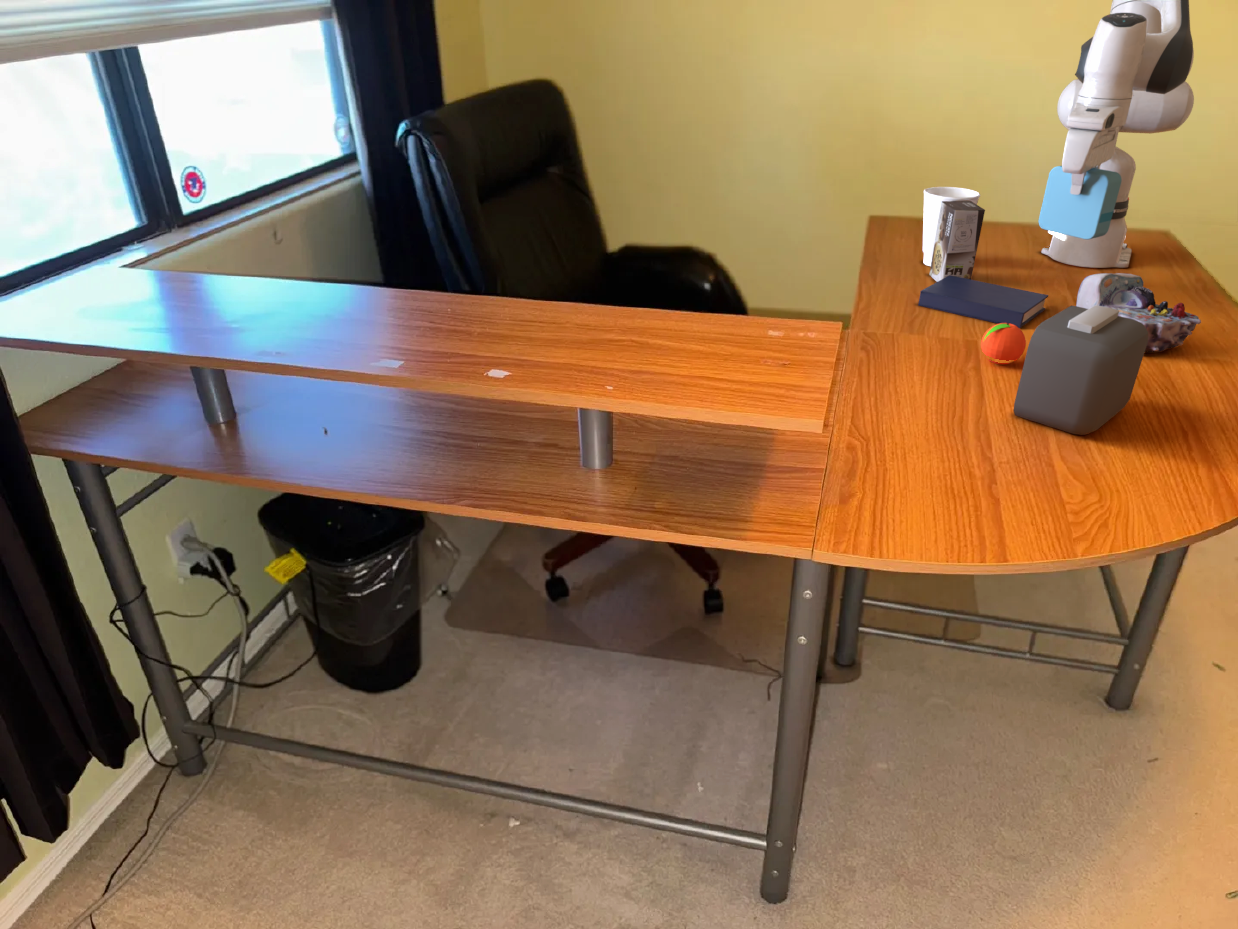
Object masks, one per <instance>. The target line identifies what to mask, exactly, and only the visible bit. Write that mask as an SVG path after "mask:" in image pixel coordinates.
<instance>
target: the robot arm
mask: <svg viewBox="0 0 1238 929" xmlns="http://www.w3.org/2000/svg"><path fill="white" fill-rule="evenodd" d="M1190 14H1191V13H1190V0H1112V1H1111V6H1110V11H1109V13H1108V14H1107V15H1104V16H1102V17H1101V18H1100V20H1099V22H1098V24H1097V26H1096V28H1095V31H1094V34H1093V36H1092V37H1090V38H1089V39H1087V41H1085V42H1084V43H1083V44H1081V47H1080V55H1079V60H1078V65H1077V69H1076V72H1075V73H1074V76H1075V77H1076V79H1073V80H1072V81H1070V82H1069V83H1068V84H1067V85H1066V86H1065V88H1064V89H1063V90H1062V92H1061V93H1060V95H1059V98H1058V101H1057V107H1056V112H1057V117H1058V120H1059V121H1060V123H1061V125H1062V126H1063V127H1064V128H1065V129H1066V130H1067V134H1066V136H1065V137H1066V138H1065V141H1064V142H1065V143H1064V147H1063V155H1062V160H1061V166H1062V170H1063V172H1065V173H1072V186H1071V190H1070V193H1071V194H1074V195H1079V194H1081V193H1082V191H1083V187H1084V184H1083V183H1084V177H1085V176H1086V173H1087V171H1088V170H1090V169H1092V168H1096V169H1102V170H1108V171H1114V172H1117V173H1119V174H1120V176H1121V179H1122V181H1121V185H1120V189H1119V193H1118V196H1117V200H1116V204H1115V207H1114V211H1113V215H1112V218H1111V222H1110V226H1109V229H1108V232H1107V233H1106V234H1105V235H1103V236H1101V237H1097V238H1093V239H1089V240H1086V239H1082V238H1077V237H1073V236H1069V235H1065V234H1061V233H1056V232H1052V231H1048V230H1047V233H1048V234H1050V235H1052V237H1051V241H1050V244H1049V246H1050V247H1049V246H1048V247H1049V248H1045V247H1042V249H1041V251H1040V252H1041V254H1043V255H1046V256H1048V257H1050V258H1051V259H1052V260H1054V261H1056V262H1059V263H1062V264H1064V265H1065V264H1066V265H1070V266H1074V267H1081V268H1092V269H1107V268H1108V269H1109V268H1120V269H1121V268H1122V269H1123V268H1126V269H1127V268H1129V266H1130V261H1131V256H1132V252H1133V249H1132V248H1130V247H1128V244H1127V243H1124V242H1125V240H1126V236H1127V232H1128V225H1127V222H1126V218H1125V217H1126V216H1127V213H1128V210H1129V201H1130V197H1129V195H1130V193H1131V192H1130V191H1131V187H1132V185H1133V180H1134V176H1135V174H1136V170H1137V165H1136V161H1135V159H1134V158H1133V157H1132V155H1131V154H1129V153H1128V152H1126V151H1125V150H1123V149H1122V148H1120V147H1118V146H1116V145H1117V141H1118V137H1119V133H1126V134H1127V133H1128V134H1150V135H1151V134H1159V133H1165V132H1173V131H1176V130H1178V129H1179V128H1180V127H1181V126H1182V125H1183V124H1184V123H1186V121H1187V120H1188V118H1189V117H1190V115H1191V113H1192V111H1193V108H1194V104H1195V103H1194V102H1195V97H1194V95H1195V94H1194V92H1193V89H1192V87H1191V85H1190V84H1189V82H1187V79H1188V77H1189V75H1190V72H1191V70H1192V67H1193V63H1194V57H1195V53H1194V52H1195V50H1194V41H1193V36H1192V31H1191V15H1190Z"/></svg>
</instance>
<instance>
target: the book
mask: <svg viewBox="0 0 1238 929" xmlns="http://www.w3.org/2000/svg"><path fill="white" fill-rule="evenodd" d="M1048 298H1049V294H1045V293H1041V292H1040V293H1039V292H1036V291H1035V292H1034V291H1030V290H1025V289H1020V288H1015V287H1009V286H1004V285H1000V284H994V283H990V282H985V281H979V280H975V279H971V280H970V279H965V278H961V277H956V276H951V275H949V276H947V277H945V278H944V279H942V280H940V281H938V282H936V281H935V282H934V283H933V284H931V285H929V286H926V288H924V289H921V290H920V293H919V298H918V304H917V306H918V307H924V308H928V309H931V310H932V309H933V310H937V311H941V312H945V313H950V314H954V315H959V316H964V317H967V318H973V319H977V320H981V321H984V322H985V321H986V322H990V323H994V324H999V323H1010V324H1013V325H1015V326H1017V327H1018V328H1019V329H1021V328H1023V327H1024V326H1026V325H1027V324H1028V323H1030V322H1031V321H1032V320H1033V319H1036V317H1038V316H1039V315H1040V314H1042V313H1043V312H1044V311H1045V310H1046V307H1044V305H1045V302H1046V299H1048Z"/></svg>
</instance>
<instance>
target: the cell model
mask: <svg viewBox="0 0 1238 929" xmlns="http://www.w3.org/2000/svg"><path fill="white" fill-rule="evenodd" d="M1095 305H1098V306H1103V307H1107V308H1111V309H1116V310H1118V311H1119V313H1118V316H1121V317H1125V318H1129V319H1134V320H1136V321H1138V322H1140V323H1143V325H1144V326H1145V328H1146V329H1147V331H1148V342H1147V346H1146V349H1145V352H1144V353H1145V354H1147V353H1148V354H1149V353H1151V354H1152V353H1162V352H1164V351H1165V350H1169V349H1174V348H1176V347H1179V346H1182V345H1184V341H1186V339H1187V338H1188V337H1189V336H1192V334H1193V331H1194V330H1195V328H1196V326H1197V325H1200V324H1202V320H1201V318H1199V316H1198V315H1196V314H1193V313H1190V312H1187V311H1186V310H1185V308H1186V307H1185V303H1184V302H1178V303H1176V304H1175V305H1174V306H1173V307H1169V302H1168V301H1167V300H1164V301H1162V302H1160V303H1159V304H1157V303H1156V300H1155V294H1154V292H1153V290H1151V288H1147V287H1145V286H1144V280H1143V278H1142V277H1141V276H1140V275H1137V274H1132V273H1126V272H1116V273H1112V272H1109V273H1107V272H1104V273H1095V274H1090V275H1087V276H1085V277H1084V278H1083V280H1082V281H1081V283H1080V285H1079V288H1078V291H1077V296H1076V305H1075V306H1077V307H1081V308H1086V309H1089V308H1091V307H1093V306H1095Z"/></svg>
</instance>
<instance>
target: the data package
mask: <svg viewBox="0 0 1238 929" xmlns="http://www.w3.org/2000/svg"><path fill="white" fill-rule="evenodd" d="M1121 181H1122V179H1121V176H1120V174H1119V173H1117V172H1114V171H1108V170H1102V169H1096V168H1092V169H1090V170H1088V171H1087V173H1086V176H1085V177H1084V183H1083V184H1084V187H1083V191H1082V193H1081V194H1079V195H1074V194H1071V193H1070V190H1071V186H1072V173H1065V172H1063V170H1062V165H1058V166H1054V167H1053V168H1051V170H1050V171H1049V173H1048V178H1047V182H1046V185H1045V190H1044V194H1043V199H1042V203H1041V208H1040V211H1039V215H1038V226H1039V227H1040V228H1041V229H1043V230H1044V231H1047V232H1048V231H1052V232H1056V233H1061V234H1065V235H1069V236H1073V237H1077V238H1082V239H1086V240H1089V239H1093V238H1097V237H1101V236H1103V235H1105V234H1106V233H1107V232H1108V229H1109V226H1110V222H1111V218H1112V215H1113V211H1114V207H1115V204H1116V200H1117V196H1118V193H1119V189H1120V185H1121Z"/></svg>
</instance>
